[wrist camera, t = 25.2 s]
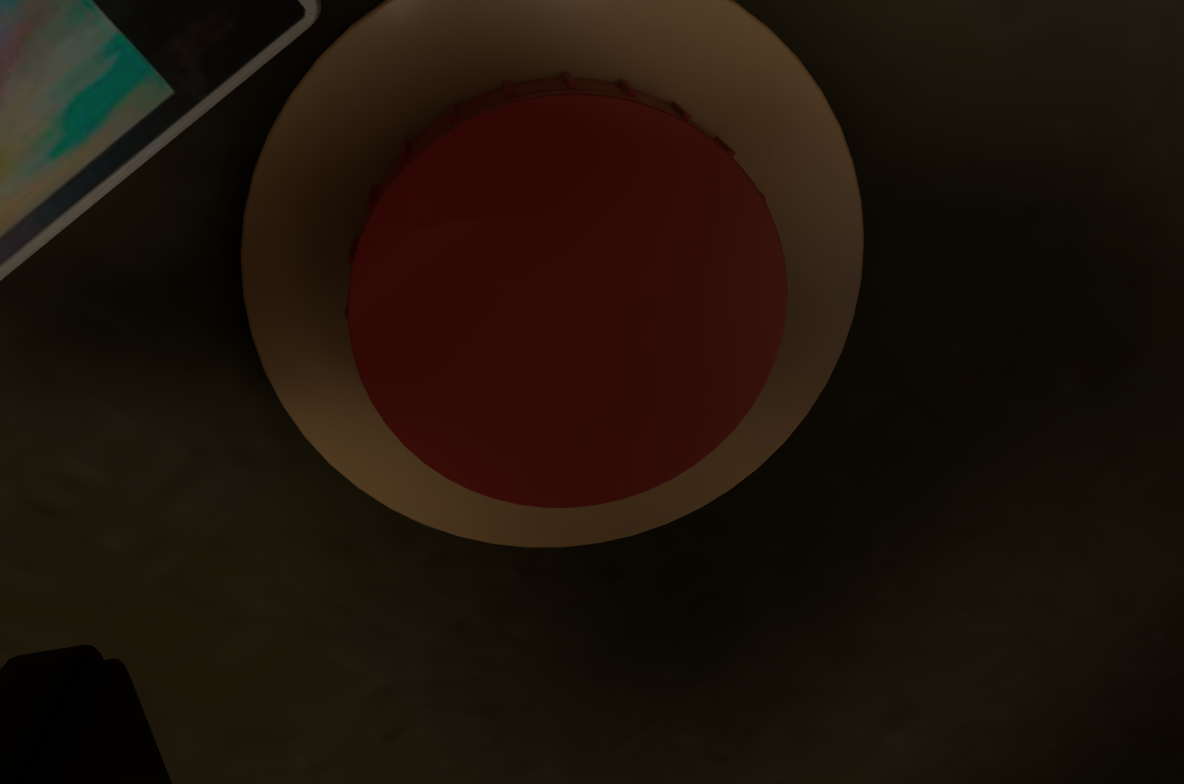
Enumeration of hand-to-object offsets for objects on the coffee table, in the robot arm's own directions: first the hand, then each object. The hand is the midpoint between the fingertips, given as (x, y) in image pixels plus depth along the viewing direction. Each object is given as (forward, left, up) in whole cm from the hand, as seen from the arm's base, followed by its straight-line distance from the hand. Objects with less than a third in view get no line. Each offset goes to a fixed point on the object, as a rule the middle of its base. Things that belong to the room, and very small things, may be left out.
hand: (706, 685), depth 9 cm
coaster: (0, 0, -10) cm, 10 cm away
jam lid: (0, 0, -8) cm, 8 cm away
